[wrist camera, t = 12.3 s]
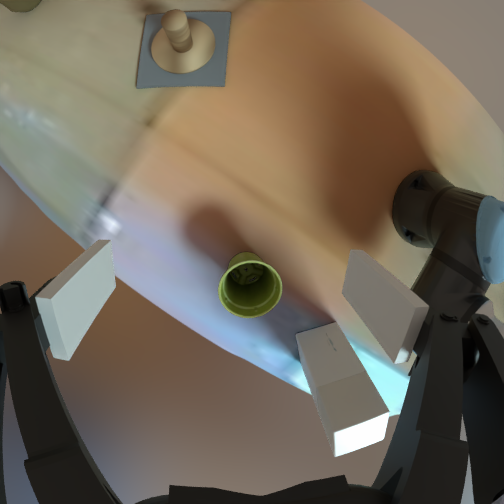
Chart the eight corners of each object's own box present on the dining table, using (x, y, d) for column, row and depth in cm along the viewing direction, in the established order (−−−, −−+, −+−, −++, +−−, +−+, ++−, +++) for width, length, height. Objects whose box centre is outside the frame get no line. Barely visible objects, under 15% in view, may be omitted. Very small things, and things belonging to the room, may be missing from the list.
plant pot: (207, 259, 50) (205, 282, 41) (256, 231, 49) (263, 249, 41) (236, 300, 53) (239, 327, 45) (282, 275, 52) (292, 298, 44)
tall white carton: (336, 321, 57) (390, 411, 33) (338, 352, 60) (384, 439, 37) (295, 333, 57) (332, 432, 33) (300, 363, 60) (334, 457, 36)
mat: (231, 13, 35) (231, 12, 35) (224, 86, 40) (224, 85, 40) (147, 16, 34) (146, 15, 33) (137, 88, 38) (136, 87, 38)
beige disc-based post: (217, 21, 35) (217, -11, 25) (212, 73, 39) (210, 51, 28) (156, 23, 34) (140, -7, 24) (149, 75, 37) (129, 56, 27)
